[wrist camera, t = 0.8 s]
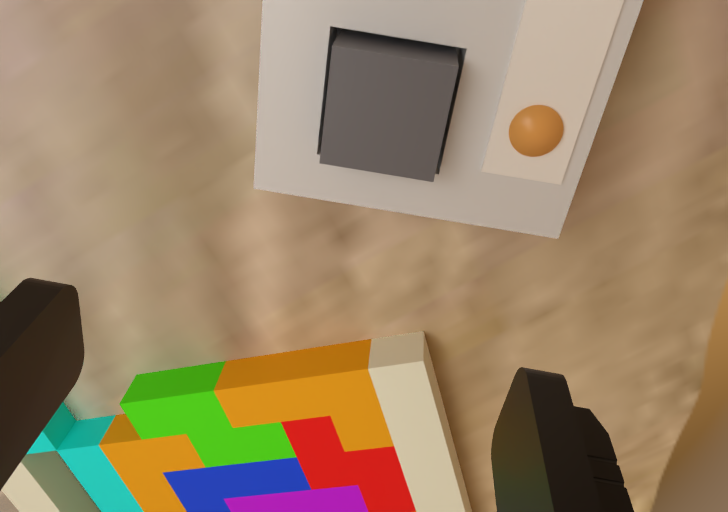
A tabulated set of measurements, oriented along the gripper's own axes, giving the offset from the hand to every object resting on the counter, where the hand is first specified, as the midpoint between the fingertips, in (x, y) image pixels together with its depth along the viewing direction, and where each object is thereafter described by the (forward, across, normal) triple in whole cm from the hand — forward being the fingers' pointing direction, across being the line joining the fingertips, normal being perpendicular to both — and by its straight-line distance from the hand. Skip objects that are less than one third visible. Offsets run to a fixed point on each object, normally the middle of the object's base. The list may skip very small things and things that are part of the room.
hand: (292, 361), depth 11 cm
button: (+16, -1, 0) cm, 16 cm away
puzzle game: (+20, +6, +25) cm, 32 cm away
